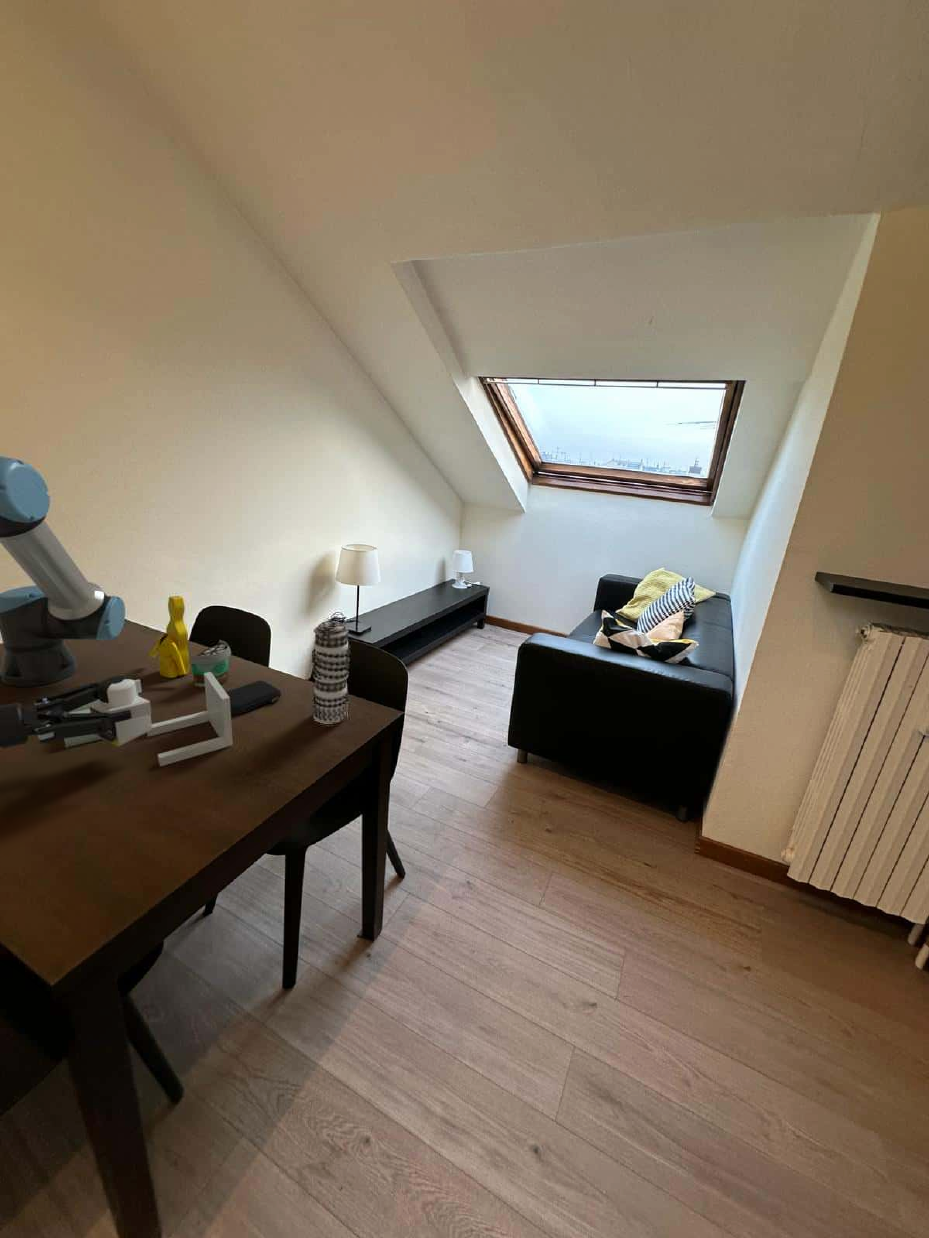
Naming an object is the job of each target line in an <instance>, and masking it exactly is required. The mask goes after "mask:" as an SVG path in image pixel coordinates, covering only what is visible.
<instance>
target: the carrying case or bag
mask: <svg viewBox="0 0 929 1238" xmlns="http://www.w3.org/2000/svg"><path fill="white" fill-rule="evenodd" d="M225 692H226V693H227V695H228V696H229V697H230V710H231V716H237V715H242V714H244V713H246V712H250V711H252V710H253V709H257V708H259V707H262V706H264V705H267V704H270V703H271V704H273V703H274V702H276V701H277V700H279V699H280V698H281V697H282V692H281V690H280V689H278V688H277V687H276V686H273V685H272V684H270V683H269V682H266V681H264V680H257V681H254V682H250V683H248V684H245V685H243V686H239V687H237V688H234V689H232V690H231V689H230V690H228V691H225Z"/></svg>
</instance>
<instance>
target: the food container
mask: <svg viewBox="0 0 929 1238" xmlns="http://www.w3.org/2000/svg"><path fill="white" fill-rule="evenodd" d="M231 654H232V650H231V648H230V646H229V644H228V643H227V642H225V641H224V640H221V639H219V640H218V644H216V645H214V646H211V647H208V648H205V649H204V650H202V651H201V652H200V653H198V654H197V655H192V654H191V655H189V663H190V666H191V670H192V675H193V680H194V686H195V689H201V690H205V681H204V673H208V672H211V673H212V674H213V676H214V677H215V678H216V680H217V681H218V682H219V684H220V685H221V686H223V685H225V684H226V683H228V679H229V678H228V676H229V657H230V656H231Z"/></svg>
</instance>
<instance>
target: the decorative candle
mask: <svg viewBox="0 0 929 1238" xmlns="http://www.w3.org/2000/svg"><path fill="white" fill-rule="evenodd" d="M349 631H350V629H348V627H347V626H345V625H344V624H343V623H342V622H339V621H336V620H328V621H323V622H321V623H319V624H318V626H316V627H315V628H314V629H313V633H314V634H315V635H314V638H315V639H314V643H313V644H314V645H313V646H314V648H313V650H312V651H311V663H313V664H312V674H311V675H312V676H313V678H314V687H313V688H314V690H313V691H312V692H313V693H312V698H313V699H312V702H313V704H312V715H313V716H312V717H313V718H314V719H315V720H314V719H313V718H312V719H313V720H314V721H317V722H320V723H323V724H330V723H331V724H332V723H333V722H340V721H339V720H340V719H343V717H344V716H345V715H346V713H347V714H348V713H349V711H348V709H349V702H348V701H349V690H348V683H347V679H348V677H349V675H350V671H349V670H348V669H350V666H351V665H350V662H351V658H350V657H349V656H350V655H352V651H351V650H350V649H352V646H351V644H349V640H348V637H349V636H348V633H349ZM317 722H316V723H317Z"/></svg>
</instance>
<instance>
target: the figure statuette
mask: <svg viewBox="0 0 929 1238" xmlns="http://www.w3.org/2000/svg"><path fill="white" fill-rule="evenodd" d="M167 608H168V614H169V617H170V618H169V622H168V623H167V626H166V630H165V632H166V633H164V634H162V635H161V636H159V637H158V638H157V642H156V644H155V646H153V648H152V650H151V651H150V653H149V654H148V655H149V657H150V658H154V659H155V658H156V657H157V656H158V670H159V675H160V676H162V677H164V678H168V679H171V678H172V679H173V678H177V677H178V676H186V675H187V674H189V672H190V670H191V669H190V668H191V663H189V658H190V655H189V651H188V650H189V649H188V640H189V633H188V630H187V628H186V624H185V622H184V615H185V601H184V598H183V597H182V596H180V595H174V596H169V597H168V602H167Z"/></svg>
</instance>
